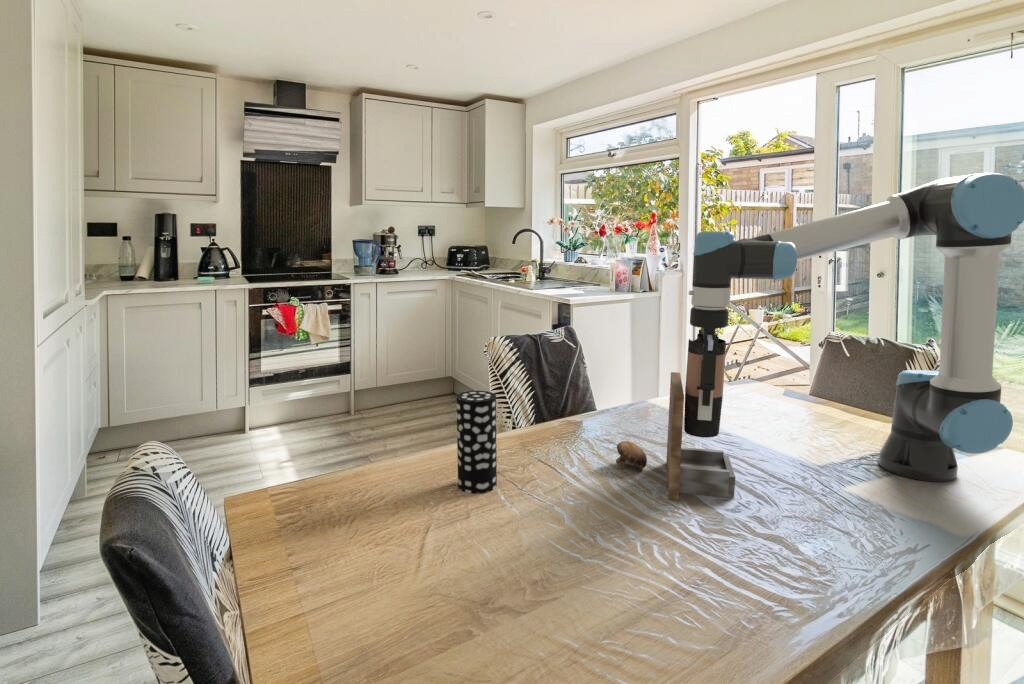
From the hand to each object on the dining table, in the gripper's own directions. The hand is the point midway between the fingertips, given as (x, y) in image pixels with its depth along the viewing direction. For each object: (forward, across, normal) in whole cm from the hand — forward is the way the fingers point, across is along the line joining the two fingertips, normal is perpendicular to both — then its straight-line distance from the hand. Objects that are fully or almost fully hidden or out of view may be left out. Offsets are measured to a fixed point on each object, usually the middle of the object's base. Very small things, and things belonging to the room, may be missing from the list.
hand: (702, 413), depth 131 cm
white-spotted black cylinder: (+16, +12, -46) cm, 51 cm away
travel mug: (+4, 0, 0) cm, 4 cm away
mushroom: (+16, -6, -15) cm, 23 cm away
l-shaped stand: (+16, 0, 0) cm, 16 cm away
